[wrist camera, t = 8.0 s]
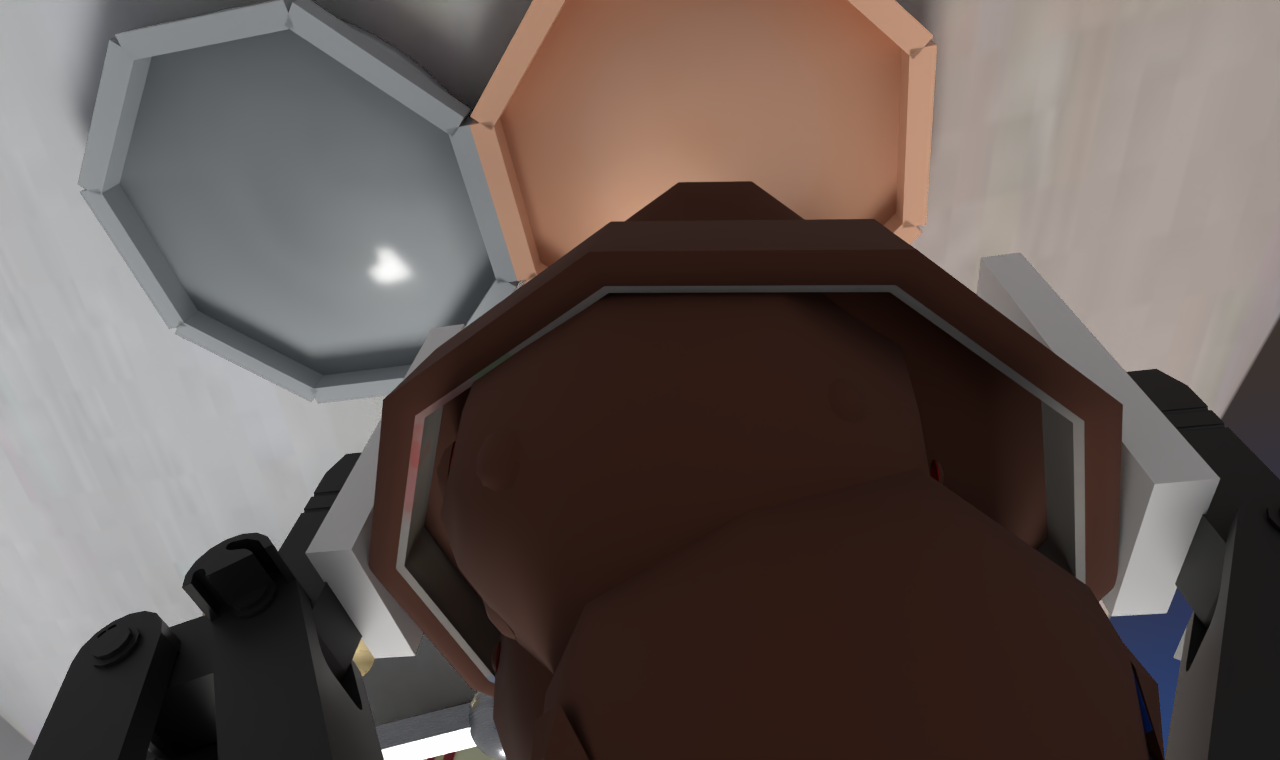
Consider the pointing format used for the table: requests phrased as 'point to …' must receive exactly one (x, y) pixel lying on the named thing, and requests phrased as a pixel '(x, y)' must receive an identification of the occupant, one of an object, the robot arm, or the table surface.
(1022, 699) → the ice cream bowl
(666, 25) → the terracotta dish
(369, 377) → the slate dish
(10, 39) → the table surface
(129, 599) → the table surface
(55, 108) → the table surface
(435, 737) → the balance
